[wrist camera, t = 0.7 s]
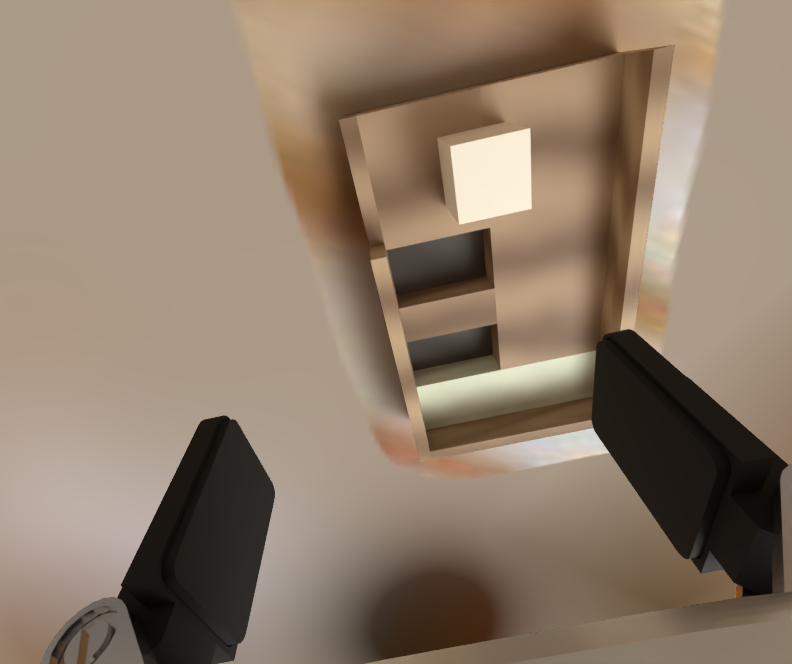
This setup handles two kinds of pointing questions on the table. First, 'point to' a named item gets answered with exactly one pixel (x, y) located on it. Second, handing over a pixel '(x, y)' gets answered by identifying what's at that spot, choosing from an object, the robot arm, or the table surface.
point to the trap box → (512, 247)
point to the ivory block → (486, 171)
